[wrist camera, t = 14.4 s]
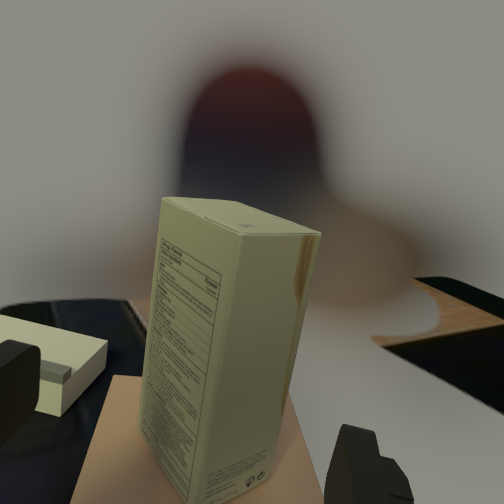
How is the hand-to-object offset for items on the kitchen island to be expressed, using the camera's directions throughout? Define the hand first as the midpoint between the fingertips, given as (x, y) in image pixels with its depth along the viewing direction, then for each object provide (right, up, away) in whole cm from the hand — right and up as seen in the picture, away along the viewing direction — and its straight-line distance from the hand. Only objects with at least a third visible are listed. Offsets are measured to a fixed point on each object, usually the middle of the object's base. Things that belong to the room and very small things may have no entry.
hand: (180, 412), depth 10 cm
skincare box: (-1, -6, +10) cm, 12 cm away
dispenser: (-13, -3, +14) cm, 19 cm away
